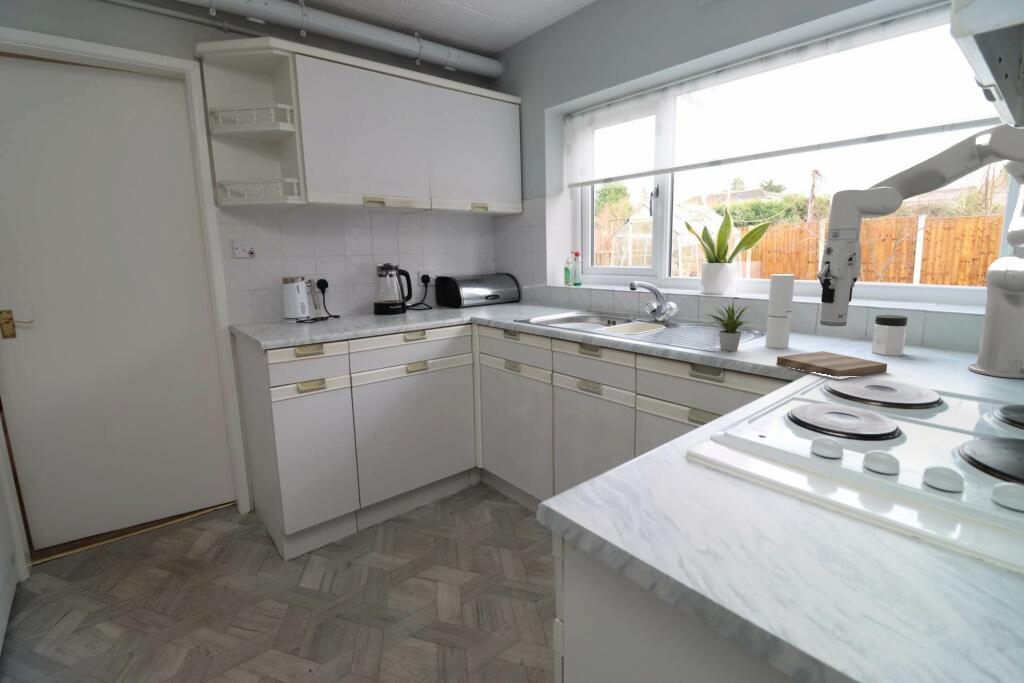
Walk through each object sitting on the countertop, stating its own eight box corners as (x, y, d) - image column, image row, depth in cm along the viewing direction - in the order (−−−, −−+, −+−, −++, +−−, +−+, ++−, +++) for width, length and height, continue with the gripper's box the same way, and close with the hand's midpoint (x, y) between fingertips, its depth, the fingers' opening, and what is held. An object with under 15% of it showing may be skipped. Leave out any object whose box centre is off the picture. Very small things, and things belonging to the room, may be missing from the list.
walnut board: (886, 372, 138) (887, 363, 137) (838, 379, 131) (839, 370, 131) (822, 358, 155) (822, 351, 155) (776, 364, 148) (777, 356, 148)
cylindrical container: (793, 347, 174) (799, 274, 169) (777, 349, 171) (784, 275, 166) (775, 343, 180) (781, 273, 176) (760, 345, 178) (766, 274, 173)
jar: (864, 351, 165) (868, 315, 163) (882, 349, 168) (887, 314, 166) (891, 356, 157) (896, 318, 155) (910, 354, 159) (915, 317, 157)
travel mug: (846, 327, 136) (855, 252, 133) (818, 325, 140) (826, 253, 137) (848, 324, 141) (856, 252, 138) (821, 322, 145) (828, 252, 142)
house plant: (731, 344, 181) (734, 299, 178) (762, 351, 168) (766, 302, 165) (699, 347, 176) (702, 301, 173) (729, 354, 163) (733, 305, 160)
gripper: (834, 236, 130) (826, 305, 133) (878, 236, 136) (870, 301, 139) (807, 236, 137) (801, 302, 140) (851, 236, 143) (844, 299, 146)
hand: (836, 301), depth 140 cm, fingers closed on travel mug, 6 cm apart
